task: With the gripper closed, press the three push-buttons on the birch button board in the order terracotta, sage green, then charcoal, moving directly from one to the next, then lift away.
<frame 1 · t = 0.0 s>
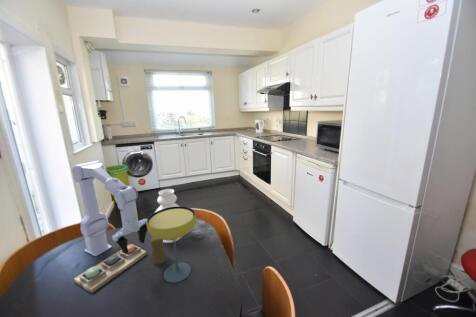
hand: (134, 247, 87), 10 cm above the table, tool pointing down, fingers open, 7 cm apart
sage button: (92, 272, 82), point 3 cm above the table, slide at 0.0 cm
decorative vase: (171, 236, 112), on the table
cork: (159, 260, 94), on the table
terracotta button: (129, 249, 96), point 3 cm above the table, slide at 0.0 cm
button board: (113, 266, 90), on the table
charcoal button: (112, 259, 89), point 3 cm above the table, slide at 0.0 cm
cocktail glass: (177, 272, 86), on the table
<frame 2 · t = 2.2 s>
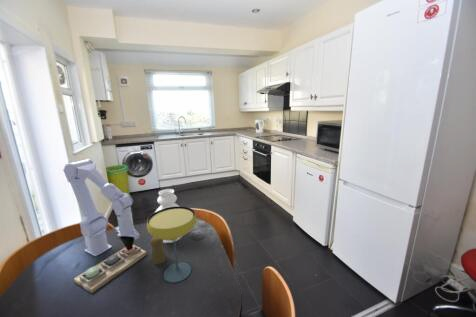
hand: (129, 248, 96), 4 cm above the table, tool pointing down, fingers closed, pressing on terracotta button
terracotta button: (130, 250, 96), point 3 cm above the table, slide at 0.7 cm, touching gripper
everything else where it was.
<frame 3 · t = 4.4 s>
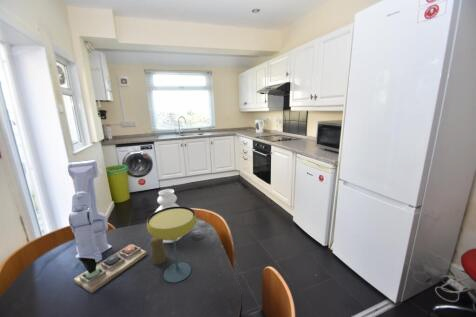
hand: (92, 271, 82), 4 cm above the table, tool pointing down, fingers closed, pressing on sage button
sage button: (92, 273, 82), point 3 cm above the table, slide at 0.3 cm, touching gripper
terracotta button: (130, 250, 96), point 3 cm above the table, slide at 0.7 cm
everything else where it was.
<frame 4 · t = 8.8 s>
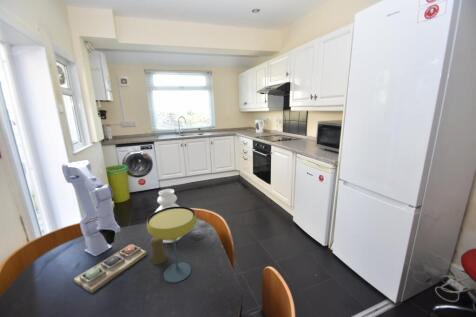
hand: (110, 242, 91), 9 cm above the table, tool pointing down, fingers closed
sage button: (92, 274, 83), point 3 cm above the table, slide at 0.7 cm
charcoal button: (112, 261, 89), point 3 cm above the table, slide at 0.7 cm
everything else where it was.
at the end: terracotta button slide at 0.7 cm; sage button slide at 0.7 cm; charcoal button slide at 0.7 cm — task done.
